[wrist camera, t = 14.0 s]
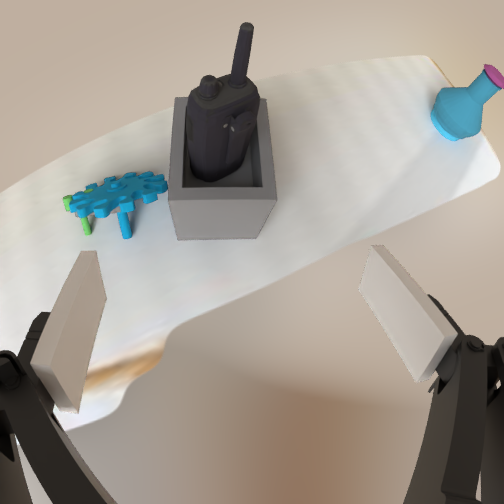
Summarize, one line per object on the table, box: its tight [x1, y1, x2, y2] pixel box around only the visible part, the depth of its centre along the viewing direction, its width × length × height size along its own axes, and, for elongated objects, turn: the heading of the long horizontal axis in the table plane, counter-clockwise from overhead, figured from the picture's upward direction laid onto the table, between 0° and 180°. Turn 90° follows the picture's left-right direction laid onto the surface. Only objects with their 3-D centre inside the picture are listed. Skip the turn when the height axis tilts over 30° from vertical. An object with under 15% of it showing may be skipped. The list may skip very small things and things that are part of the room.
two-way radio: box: [186, 22, 260, 182], centre depth 21 cm, size 6×4×15 cm
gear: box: [63, 171, 168, 239], centre depth 30 cm, size 11×6×10 cm
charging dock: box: [168, 97, 277, 240], centre depth 29 cm, size 8×10×10 cm
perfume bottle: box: [431, 64, 504, 141], centre depth 36 cm, size 9×9×15 cm
